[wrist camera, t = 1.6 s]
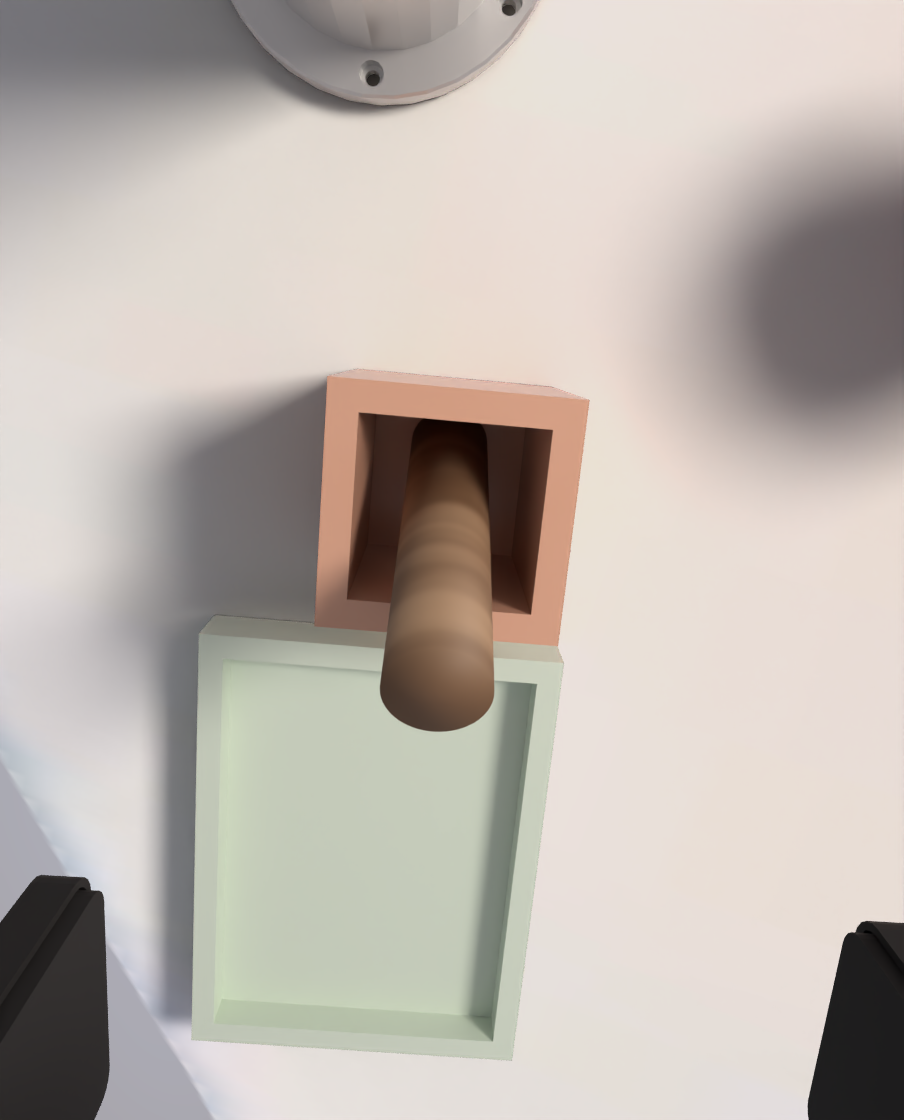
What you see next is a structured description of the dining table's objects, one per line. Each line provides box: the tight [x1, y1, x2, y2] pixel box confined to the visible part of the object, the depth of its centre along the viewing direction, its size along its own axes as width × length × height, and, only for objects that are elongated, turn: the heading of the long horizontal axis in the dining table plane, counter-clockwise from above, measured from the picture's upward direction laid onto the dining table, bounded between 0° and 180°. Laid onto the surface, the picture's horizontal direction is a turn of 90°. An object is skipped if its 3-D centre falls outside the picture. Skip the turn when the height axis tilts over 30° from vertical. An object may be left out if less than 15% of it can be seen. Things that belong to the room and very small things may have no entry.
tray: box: [191, 615, 564, 1061], centre depth 38 cm, size 20×15×2 cm
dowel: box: [380, 418, 494, 732], centre depth 28 cm, size 8×3×14 cm, turn 175°
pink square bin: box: [314, 369, 589, 646], centre depth 31 cm, size 8×8×9 cm
